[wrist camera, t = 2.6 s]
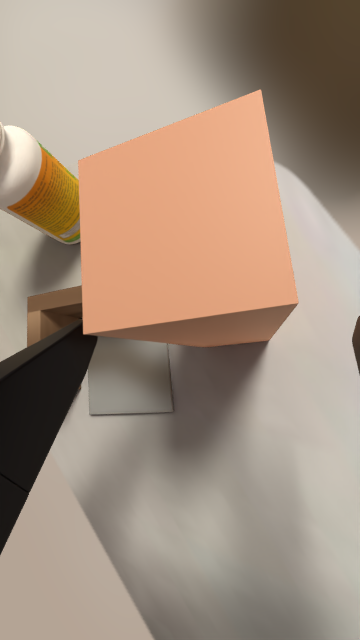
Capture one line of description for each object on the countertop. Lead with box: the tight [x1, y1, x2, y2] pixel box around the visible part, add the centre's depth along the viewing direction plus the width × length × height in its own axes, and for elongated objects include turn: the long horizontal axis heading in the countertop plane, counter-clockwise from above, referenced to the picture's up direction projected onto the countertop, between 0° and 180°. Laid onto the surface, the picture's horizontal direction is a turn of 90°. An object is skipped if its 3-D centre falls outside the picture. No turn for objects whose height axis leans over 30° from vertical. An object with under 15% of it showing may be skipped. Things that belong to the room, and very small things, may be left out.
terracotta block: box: [78, 90, 298, 347], centre depth 11 cm, size 4×4×13 cm
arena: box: [27, 285, 174, 415], centre depth 18 cm, size 9×9×4 cm
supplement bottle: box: [0, 122, 81, 244], centre depth 18 cm, size 5×5×10 cm
